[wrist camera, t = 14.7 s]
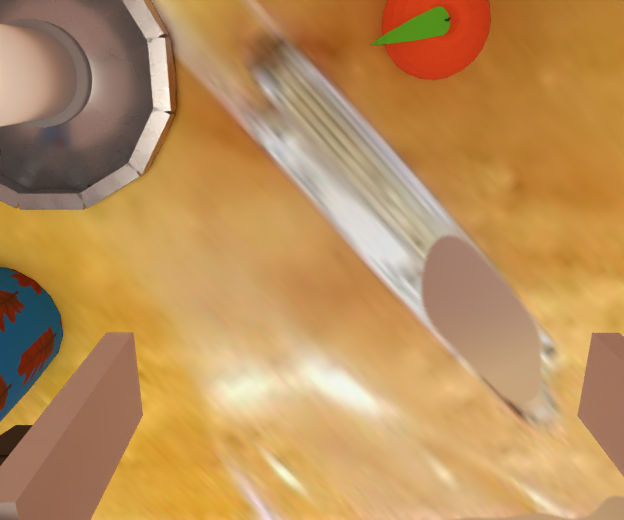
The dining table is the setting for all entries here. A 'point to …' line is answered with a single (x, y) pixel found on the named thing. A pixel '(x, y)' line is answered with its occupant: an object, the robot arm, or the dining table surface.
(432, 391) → the dining table surface
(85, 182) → the round tray
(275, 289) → the dining table surface
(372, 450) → the dining table surface
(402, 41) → the clementine
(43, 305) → the thermos
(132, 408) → the robot arm
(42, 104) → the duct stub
